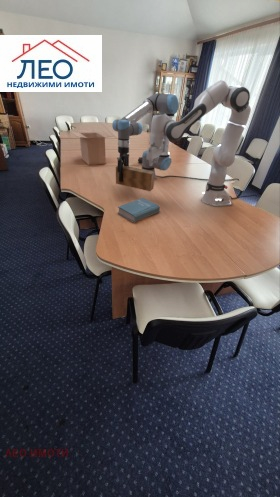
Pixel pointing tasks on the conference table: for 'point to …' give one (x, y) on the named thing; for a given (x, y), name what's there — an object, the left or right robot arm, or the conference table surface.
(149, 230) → the conference table surface
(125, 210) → the book
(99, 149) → the box
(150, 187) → the long box
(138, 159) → the laser sight
